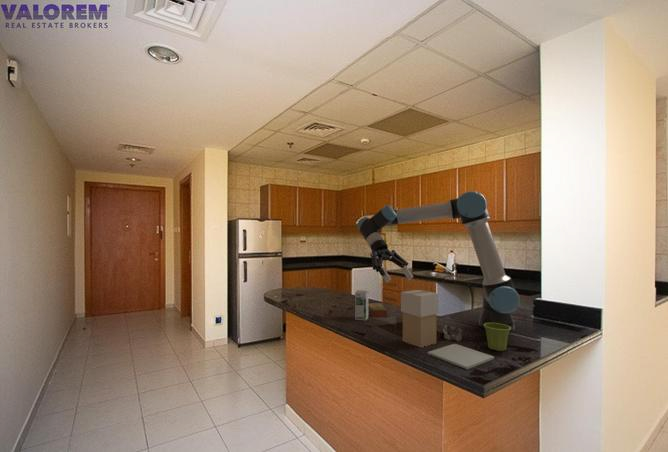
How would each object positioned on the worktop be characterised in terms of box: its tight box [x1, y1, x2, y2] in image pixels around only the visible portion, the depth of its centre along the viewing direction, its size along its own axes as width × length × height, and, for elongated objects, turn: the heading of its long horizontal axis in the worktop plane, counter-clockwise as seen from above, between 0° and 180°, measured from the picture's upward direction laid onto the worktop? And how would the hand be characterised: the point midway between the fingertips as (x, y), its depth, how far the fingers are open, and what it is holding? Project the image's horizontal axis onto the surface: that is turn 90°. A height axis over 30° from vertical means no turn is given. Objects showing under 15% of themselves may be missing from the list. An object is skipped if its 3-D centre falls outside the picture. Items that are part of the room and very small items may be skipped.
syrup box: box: [354, 289, 369, 322], centre depth 166 cm, size 6×6×14 cm
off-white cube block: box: [400, 289, 439, 317], centre depth 131 cm, size 10×10×10 cm
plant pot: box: [484, 323, 511, 352], centre depth 124 cm, size 9×9×9 cm
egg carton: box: [442, 324, 463, 342], centre depth 139 cm, size 11×8×4 cm
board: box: [427, 343, 495, 370], centre depth 116 cm, size 16×16×1 cm
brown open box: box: [402, 312, 437, 349], centre depth 131 cm, size 9×9×12 cm
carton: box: [368, 302, 388, 318], centre depth 178 cm, size 8×16×4 cm, turn 4°
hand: (400, 280), depth 140 cm, fingers open, 13 cm apart
